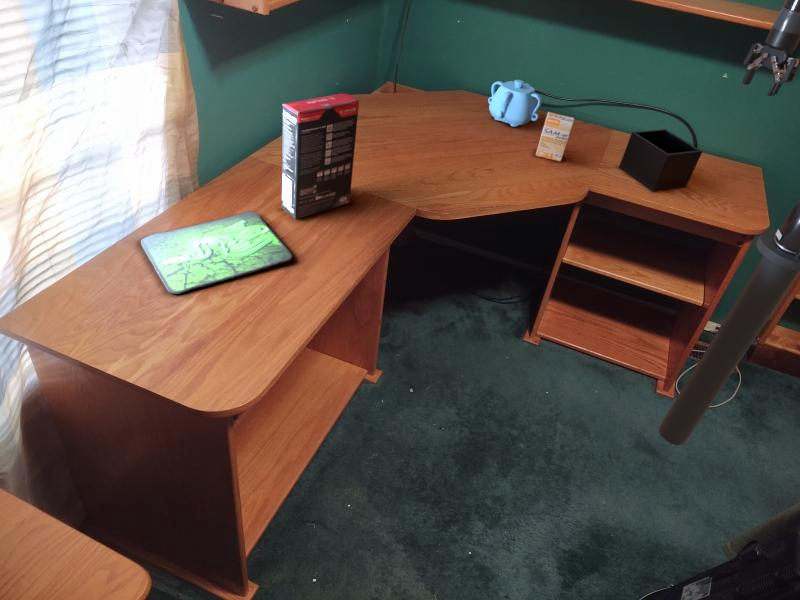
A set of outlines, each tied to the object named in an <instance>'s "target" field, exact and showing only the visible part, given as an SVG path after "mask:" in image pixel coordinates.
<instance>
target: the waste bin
mask: <svg viewBox="0 0 800 600" xmlns="http://www.w3.org/2000/svg"><path fill="white" fill-rule="evenodd" d="M702 153H703V150H701V149H699V148H698V147H697V146H695V145H693V144H691V143H689V142H688V141H686V140H684V139H683V138H681V137H679V136H678V135H676V134H675V133H673V132H671V131H669V130H668V129H665V128H662V129H649V130H639V131H632V132H631V134H630V136H629V139H628V142H627V145H626V147H625V150H624V152H623V155H622V158H621V160H620V163H619V166H618V168H619V169H620V170H622V171H623V172H625V173H626V174H627V175H629V176H630V177H632V178H633V179H634V180H636V181H637V182H639V183H640V184H641V185H642V186H644V187H645V188H647V189H648V190H650V191H651V192H653V193H654V192H659V191H668V190H673V189H680V188H686V187H687V186H688V183H689V182H690V179H691V178H692V175H693V173H694V171H695V169H696V167H697V165H698V162H699V160H700V158H701V155H702Z"/></svg>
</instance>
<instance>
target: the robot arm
mask: <svg viewBox="0 0 800 600" xmlns="http://www.w3.org/2000/svg"><path fill="white" fill-rule="evenodd" d="M799 42H800V0H785V1H784V4H783V5H782V7H781V9H780V11H779V12H778V14H777V16H776V18H775V20H774V22H773V24H772V26H771V28H770V30H769V33H768V35H767V36H766V38H765V40H764V45H763V44H762V43H753V44H752V46H751V47H750V49H749V51H748V53H747V55H746V56H745V59H744V60H743V63H742V65H743V66H744V67H746V72H745V74H744V76H743V78H742V84H743V85H744V86H745V85H750V84H751V82H752V81H753V78H754V76H755V74H756V70H758V69H759V68H760V67H764V68H765V67H766V68H768V69H769V70H772V74H773V75H774V81H772V82H773V83H772V84H771V86H770V88H769V90H768V92H767V96H769V97H774V96H776V95H778V93H779V91H780V89H781V87H782V85H783V84H784V83H791V82H792V81H793V80H794V78H795V76H796V74H797V71H798V69H799V67H800V58H794V57H792V53H793V52H794V51H795V50H796V48H797V46H798V44H799ZM759 53H760V56H759ZM758 56H759V57H758ZM757 57H758V58H757ZM786 65H787V66H786ZM786 67H787V68H786ZM776 231H777V232H776V236H775V238H774V240H773V242H774V244H775V245H776V246H777V247H778V248H779V249H781V250H782V251H784V252H786V253H789V254H791V255H794V256H796V257H798V258H800V196H799V197H798V199H797V201H796V202H795V204H794V205H793V207H792V209H791V211H790V213H788V215H787V217H786V219H785V221H784V222H783V224H782V225H781V227H780V229H779V228H778V229H777V230H776Z"/></svg>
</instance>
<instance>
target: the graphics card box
mask: <svg viewBox="0 0 800 600" xmlns="http://www.w3.org/2000/svg"><path fill="white" fill-rule="evenodd" d="M359 105H360V101H359V99H358V98H356V97H354V96H352V95H351V94H348V93H345V92H342V93H337V94H331V95H326V96H319V97H314V98H307V99H303V100H298V101H291V102H286V103H282V137H281V139H282V140H281V141H282V147H281V148H282V149H281V150H282V153H281V155H282V157H281V161H282V162H281V209H282V210H284V212H286V214H288V215H290V217H291V218H293V219H294V220H298V219H302V218H304V217H308V216H312V215H315V214H318V213H321V212H324V211H325V212H326V211H328V210H332V209H335V208H338V207H342V206H344V205H348V204H350V201H351V193H352V192H351V191H352V182H353V181H352V180H353V169H354V160H355V148H356V139H357V138H356V137H357V127H358V118H359V117H358V116H359Z"/></svg>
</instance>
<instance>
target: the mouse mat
mask: <svg viewBox="0 0 800 600" xmlns="http://www.w3.org/2000/svg"><path fill="white" fill-rule="evenodd" d="M140 245H141V247H142V249H143V250H144V253H145V254H146V256H147V258H148V259H149V261H150V263H151V264H152V266H153V268H154V270H155V272H156V273H157V275H158V277H159V279H160V281H161V282H162V284H163V285H164V287H165V289H166V291H167V292H168V293H170V294H172V295H180V294H183V293H186V292H189V291H192V290H196V289H201V288H203V287H208V286H210V285H211V286H212V285H214V284H217V283H221V282H224V281H228V280H231V279H235V278H238V277H241V276H245V275H248V274H251V273H255V272H258V271H261V270H264V269H267V268H270V267H274V266H277V265H279V264H280V265H281V264H285V263H288V262H291V260H292V259H293V254H292V253H291V251H290V250H289V249H288V248H287V247H286V245H284V243H283V242H282V240H281V239H280V238H279V237H277V235H276V234H275V233H274V231H273V230H272V229H271V228H270V227H269V226H268V225H267V223H266V222H265V221H264V220H263V219H262V218H261V217H260V215H259V214H258V213H256V212H254V211H245V212H241V213H238V214H233V215H230V216H227V217H222V218H219V219H214V220H211V221H206V222H201V223H197V224H193V225H188V226H184V227H180V228H176V229H171V230H165V231H160V232H156V233H153V234H149V235H146V236H144V237H143V238H142V239H141V240H140Z"/></svg>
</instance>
